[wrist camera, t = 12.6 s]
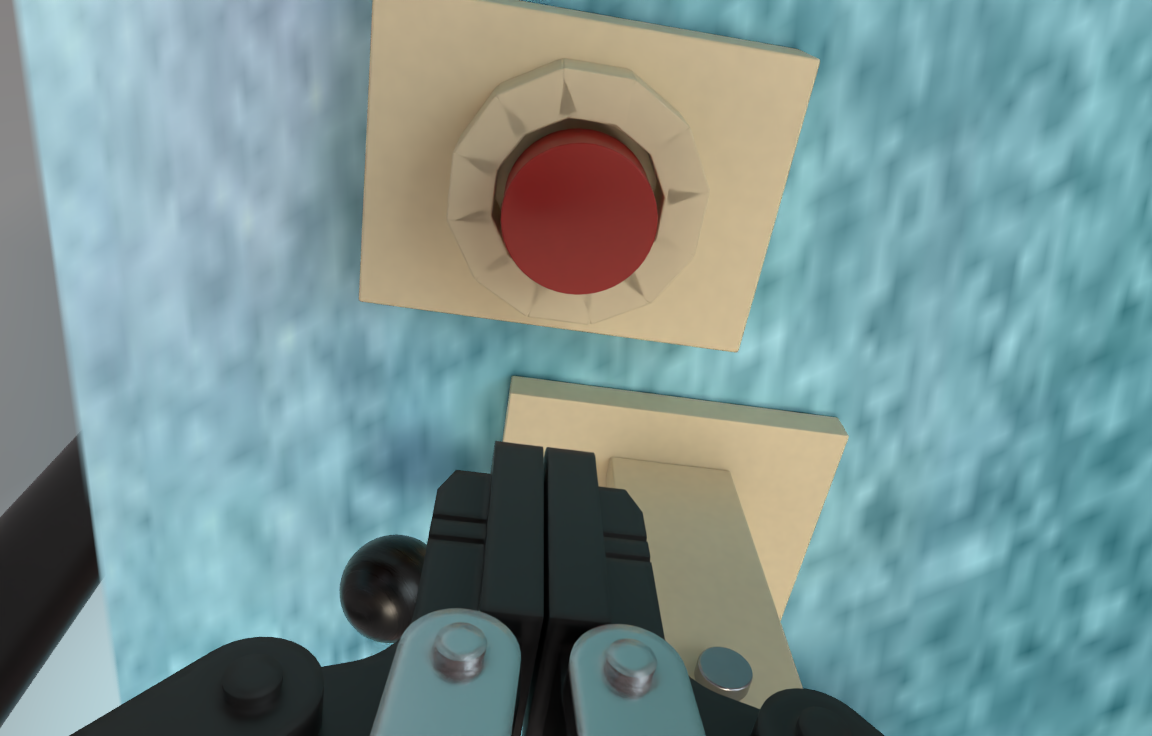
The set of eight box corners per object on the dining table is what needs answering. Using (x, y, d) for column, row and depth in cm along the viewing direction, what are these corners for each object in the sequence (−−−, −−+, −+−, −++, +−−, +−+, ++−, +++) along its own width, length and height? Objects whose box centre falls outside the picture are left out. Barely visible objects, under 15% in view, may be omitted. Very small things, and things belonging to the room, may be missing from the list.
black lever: (382, 577, 28) (315, 635, 25) (388, 500, 27) (317, 554, 24) (749, 768, 24) (715, 861, 21) (780, 689, 22) (747, 780, 20)
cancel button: (495, 260, 23) (492, 284, 22) (513, 116, 22) (511, 130, 20) (635, 280, 24) (641, 305, 22) (664, 140, 22) (672, 156, 20)
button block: (371, 275, 27) (345, 327, 24) (387, -23, 23) (358, -15, 20) (725, 324, 29) (750, 380, 25) (800, 49, 24) (842, 69, 21)
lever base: (483, 570, 33) (449, 901, 22) (511, 374, 29) (488, 656, 18) (772, 601, 34) (881, 929, 23) (838, 417, 30) (1010, 706, 19)
